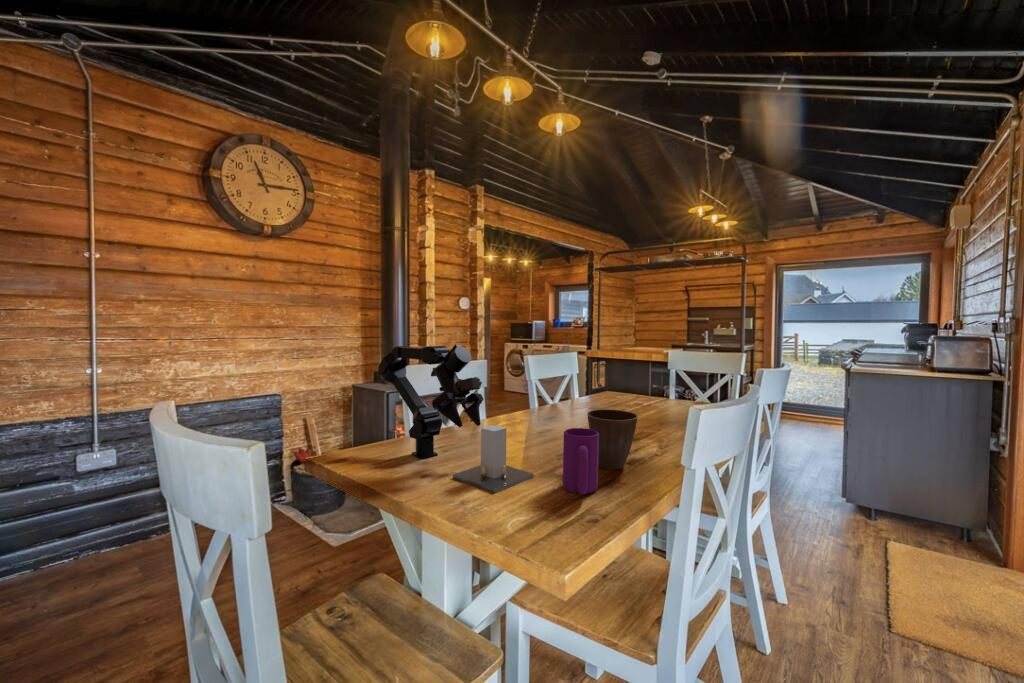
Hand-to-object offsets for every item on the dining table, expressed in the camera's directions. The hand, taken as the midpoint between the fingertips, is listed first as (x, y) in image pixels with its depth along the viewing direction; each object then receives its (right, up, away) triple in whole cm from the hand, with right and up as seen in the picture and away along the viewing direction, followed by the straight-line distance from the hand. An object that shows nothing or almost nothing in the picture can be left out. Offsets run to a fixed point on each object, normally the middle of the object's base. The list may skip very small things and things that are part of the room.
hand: (470, 426), depth 127 cm
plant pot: (+42, -14, +6) cm, 45 cm away
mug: (+30, -14, -15) cm, 36 cm away
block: (+7, -12, -5) cm, 15 cm away
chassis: (+7, -13, -5) cm, 16 cm away
